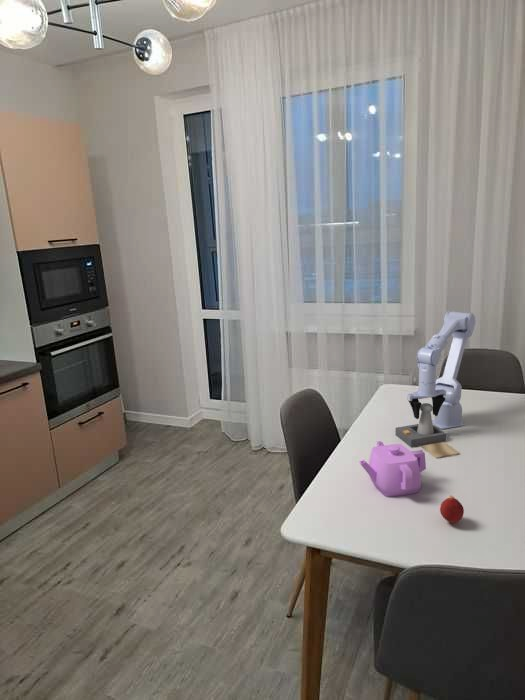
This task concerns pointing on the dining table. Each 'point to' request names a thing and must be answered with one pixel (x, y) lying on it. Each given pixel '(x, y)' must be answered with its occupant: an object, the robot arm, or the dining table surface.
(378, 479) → the teakettle
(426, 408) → the salt shaker
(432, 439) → the grey flat block
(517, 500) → the dining table surface
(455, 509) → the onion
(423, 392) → the robot arm
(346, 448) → the dining table surface
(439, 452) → the oak pad
